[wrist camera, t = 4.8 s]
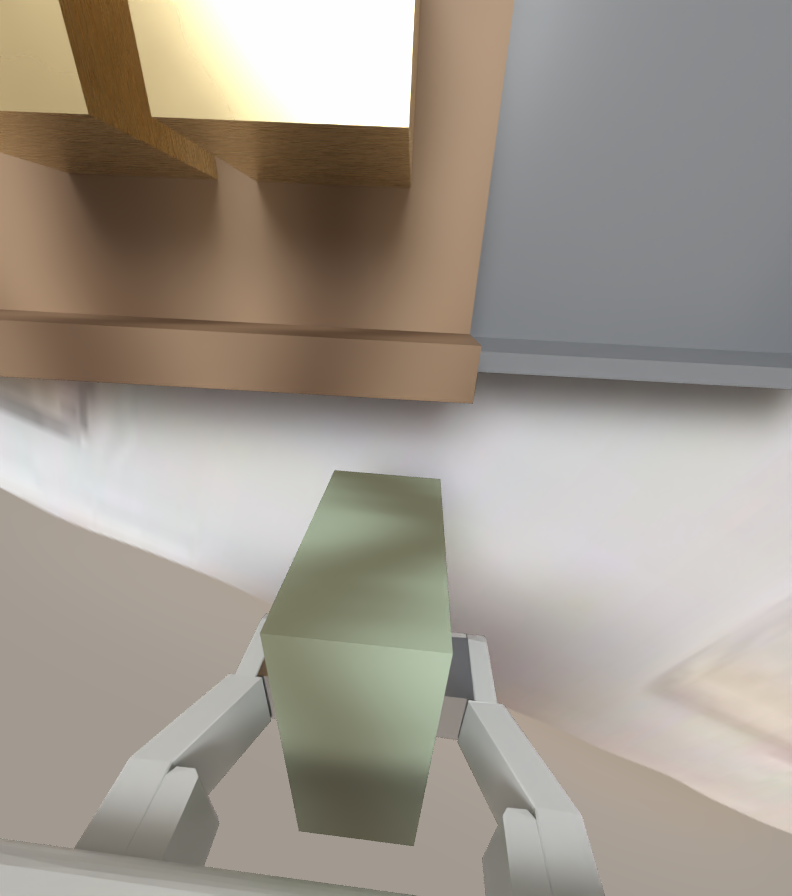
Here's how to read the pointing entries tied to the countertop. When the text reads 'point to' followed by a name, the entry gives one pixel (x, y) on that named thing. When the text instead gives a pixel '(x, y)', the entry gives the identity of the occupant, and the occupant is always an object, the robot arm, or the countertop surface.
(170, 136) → the brass block
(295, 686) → the bar
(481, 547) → the countertop surface
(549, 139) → the tray
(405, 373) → the slot board
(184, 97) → the brass block
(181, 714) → the robot arm
